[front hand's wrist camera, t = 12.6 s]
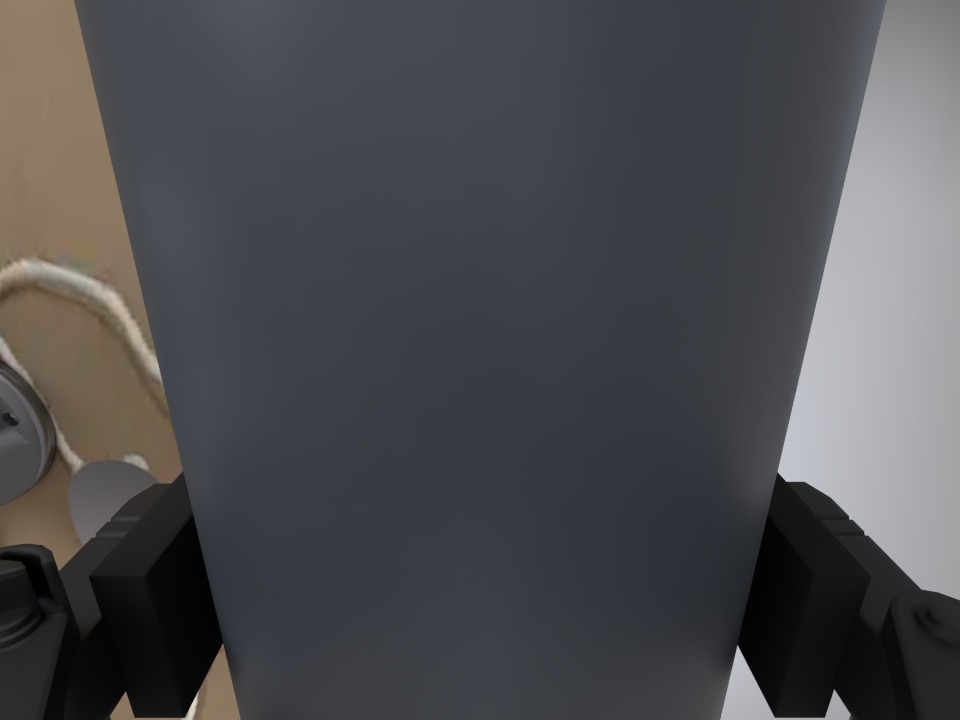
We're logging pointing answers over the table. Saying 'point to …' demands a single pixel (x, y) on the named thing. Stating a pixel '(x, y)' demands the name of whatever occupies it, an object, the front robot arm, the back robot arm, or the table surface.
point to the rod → (480, 329)
